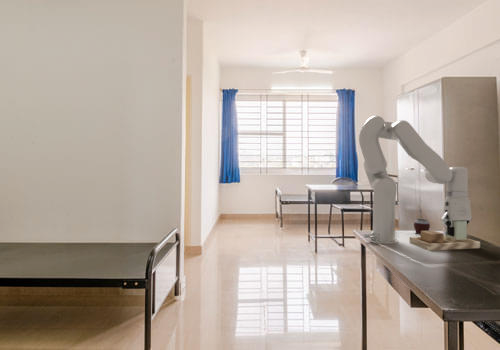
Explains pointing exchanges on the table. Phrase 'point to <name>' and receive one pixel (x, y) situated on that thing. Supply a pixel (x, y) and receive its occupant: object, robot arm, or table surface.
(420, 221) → the mate gourd
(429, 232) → the walnut block
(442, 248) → the slot tray
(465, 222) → the sage block
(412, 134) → the robot arm
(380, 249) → the table surface
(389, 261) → the table surface
